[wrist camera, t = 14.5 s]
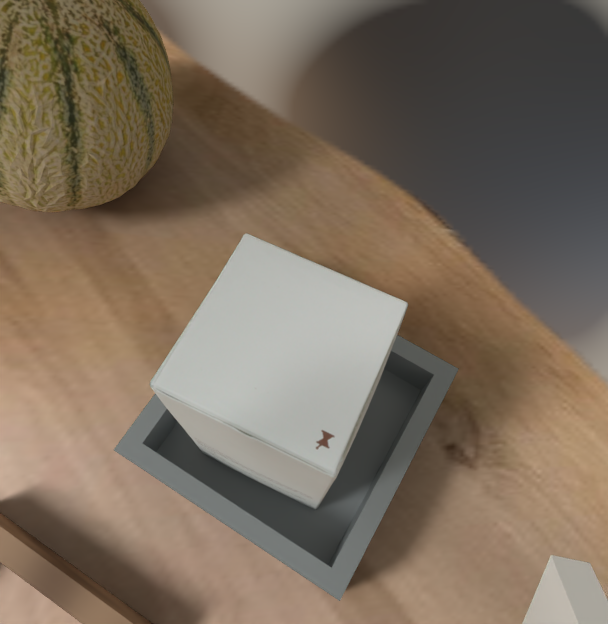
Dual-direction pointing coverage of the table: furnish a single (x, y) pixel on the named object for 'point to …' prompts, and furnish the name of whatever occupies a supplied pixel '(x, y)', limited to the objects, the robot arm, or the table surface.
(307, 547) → the slate tray
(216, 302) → the supplement box
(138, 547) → the table surface
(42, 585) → the walnut collar
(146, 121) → the cantaloupe
